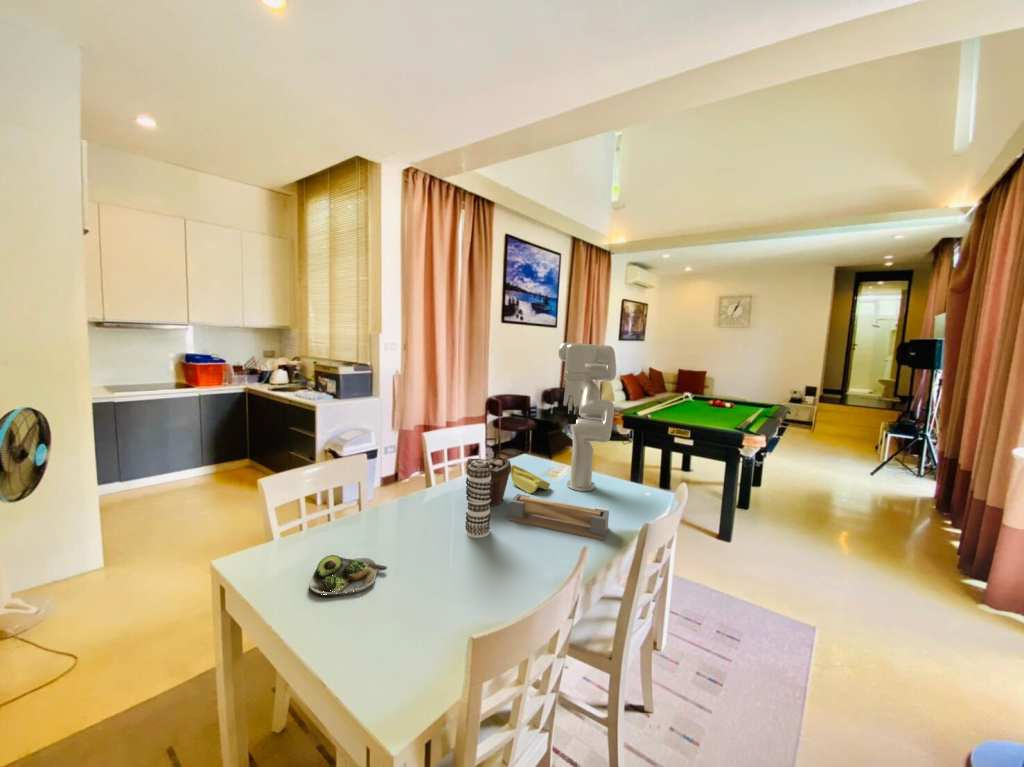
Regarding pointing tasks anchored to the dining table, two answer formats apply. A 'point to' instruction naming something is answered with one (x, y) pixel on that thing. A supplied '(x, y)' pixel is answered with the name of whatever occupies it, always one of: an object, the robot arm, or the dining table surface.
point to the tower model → (478, 499)
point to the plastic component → (527, 480)
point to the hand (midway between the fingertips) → (571, 423)
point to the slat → (559, 510)
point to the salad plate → (343, 575)
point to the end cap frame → (560, 521)
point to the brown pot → (496, 477)
